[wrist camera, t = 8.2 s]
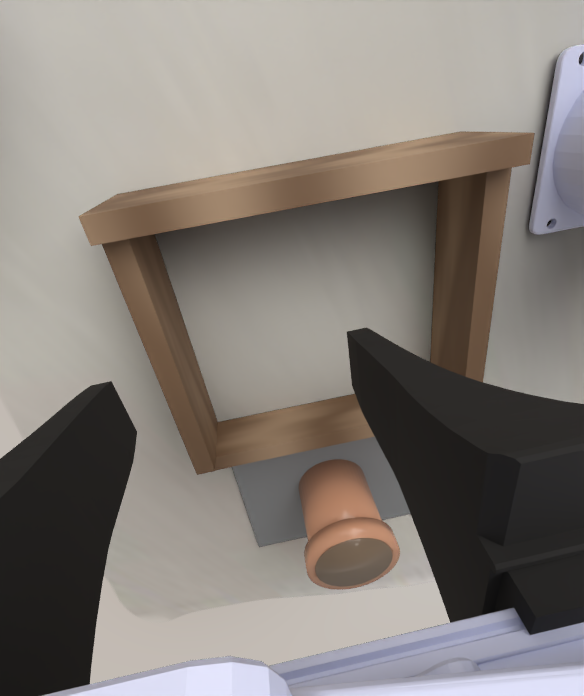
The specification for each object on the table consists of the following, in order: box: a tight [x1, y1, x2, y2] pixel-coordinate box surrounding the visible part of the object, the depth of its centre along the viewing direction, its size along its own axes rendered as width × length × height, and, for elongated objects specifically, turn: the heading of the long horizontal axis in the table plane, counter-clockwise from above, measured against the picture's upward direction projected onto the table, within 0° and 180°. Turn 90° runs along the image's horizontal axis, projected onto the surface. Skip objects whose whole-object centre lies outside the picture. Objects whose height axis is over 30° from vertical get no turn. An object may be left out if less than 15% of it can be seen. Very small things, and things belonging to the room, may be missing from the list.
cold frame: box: [79, 132, 535, 475], centre depth 19 cm, size 16×15×5 cm
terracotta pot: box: [299, 459, 400, 589], centre depth 26 cm, size 6×6×6 cm
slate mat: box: [232, 437, 411, 547], centre depth 29 cm, size 14×10×1 cm
